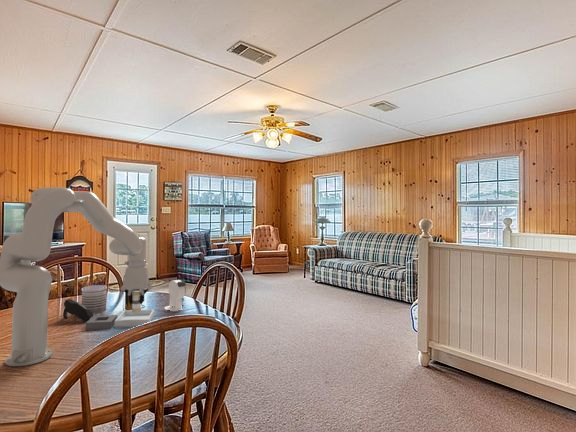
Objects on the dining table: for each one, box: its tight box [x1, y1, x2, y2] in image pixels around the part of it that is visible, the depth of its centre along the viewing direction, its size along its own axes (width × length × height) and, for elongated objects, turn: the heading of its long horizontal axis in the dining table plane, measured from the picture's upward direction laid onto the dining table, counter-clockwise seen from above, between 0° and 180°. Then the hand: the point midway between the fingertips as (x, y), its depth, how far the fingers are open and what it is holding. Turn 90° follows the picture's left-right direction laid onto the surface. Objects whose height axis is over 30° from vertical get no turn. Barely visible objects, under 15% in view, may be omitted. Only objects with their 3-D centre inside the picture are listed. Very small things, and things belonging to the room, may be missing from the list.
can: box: [81, 284, 108, 315], centre depth 171 cm, size 11×11×12 cm
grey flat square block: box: [85, 314, 119, 331], centre depth 149 cm, size 10×10×3 cm
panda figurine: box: [164, 277, 187, 312], centre depth 179 cm, size 12×11×15 cm
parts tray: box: [113, 309, 155, 329], centre depth 156 cm, size 16×14×3 cm
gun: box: [62, 298, 94, 323], centre depth 156 cm, size 3×16×10 cm, turn 79°
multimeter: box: [122, 274, 145, 312], centre depth 175 cm, size 15×10×20 cm
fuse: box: [132, 290, 142, 312], centre depth 156 cm, size 4×4×9 cm
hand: (136, 302), depth 156 cm, fingers closed on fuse, 3 cm apart
